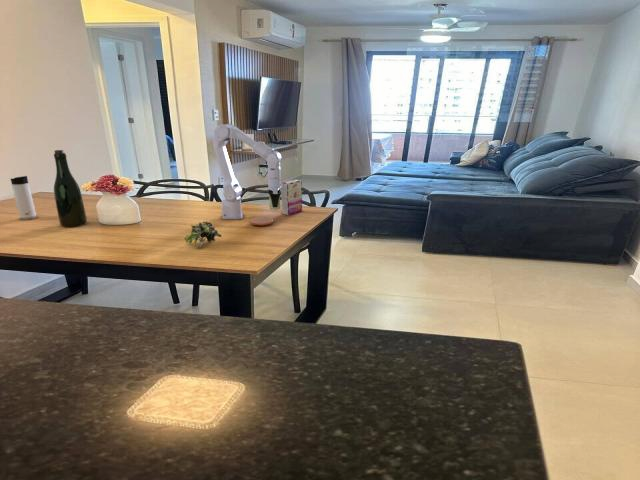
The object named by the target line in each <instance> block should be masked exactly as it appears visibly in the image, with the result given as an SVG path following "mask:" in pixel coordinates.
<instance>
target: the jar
mask: <svg viewBox="0 0 640 480" xmlns="http://www.w3.org/2000/svg"><path fill="white" fill-rule="evenodd" d="M268 197H269V199H268V201H269V206H268V207H269V210H271V211H278V210H280V209H281V196H280V197H279V201H278V207H273V206H272V200H271V197H270V195H269V196H268Z"/></svg>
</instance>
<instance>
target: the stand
mask: <svg viewBox="0 0 640 480" xmlns="http://www.w3.org/2000/svg"><path fill="white" fill-rule="evenodd" d="M248 222H249V224H250V225H254V226H259V227H260V226H262V227H265V226H267V225H271V224H273V223H274V219H273V218H272V217H267V216H255V217H253V218H250V219H249V221H248Z"/></svg>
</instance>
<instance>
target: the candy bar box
mask: <svg viewBox="0 0 640 480" xmlns="http://www.w3.org/2000/svg"><path fill="white" fill-rule="evenodd" d="M302 182H303V181H302V180H301V179H291V180H287V181H282V182H280V186H283V188H282V189H280V193H281V195H280V202H281V214H282V215H286V216H290V215H294V214H297V213H301V212H302V211H303V183H302Z"/></svg>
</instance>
